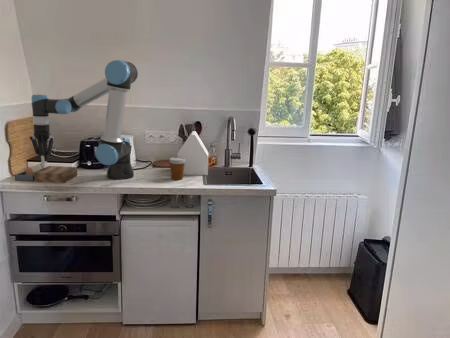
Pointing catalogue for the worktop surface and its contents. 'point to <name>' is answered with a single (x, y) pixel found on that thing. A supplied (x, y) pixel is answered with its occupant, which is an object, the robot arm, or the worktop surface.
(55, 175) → the walnut board
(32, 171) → the terracotta tile
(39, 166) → the cream tile
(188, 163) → the white house model
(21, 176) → the tray
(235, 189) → the worktop surface
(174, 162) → the disposable coffee cup
